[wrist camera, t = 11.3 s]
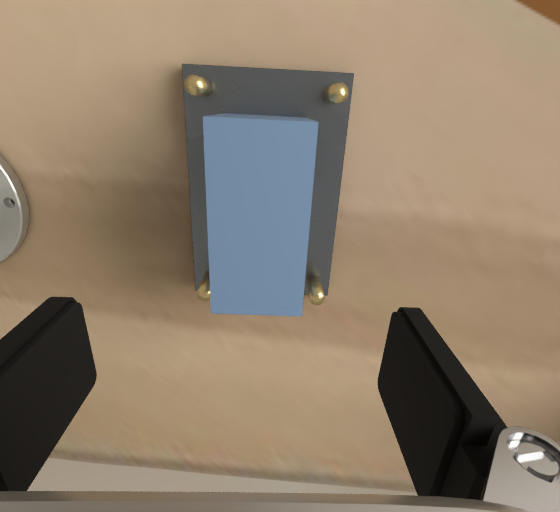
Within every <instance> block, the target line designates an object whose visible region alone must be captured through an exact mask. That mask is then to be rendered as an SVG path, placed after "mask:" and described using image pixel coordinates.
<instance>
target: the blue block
mask: <svg viewBox="0 0 560 512" xmlns="http://www.w3.org/2000/svg"><path fill="white" fill-rule="evenodd" d="M317 134H318V122H317V121H314V120H312V119H309V118H307V117H289V116H269V115H249V114H229V113H223V114H216V115H209V116H203V135H204V159H205V183H206V207H207V230H208V254H209V278H210V302H211V313H216V314H246V315H276V316H302V310H303V298H304V286H305V275H306V263H307V251H308V240H309V228H310V216H311V204H312V193H313V181H314V169H315V158H316V146H317Z"/></svg>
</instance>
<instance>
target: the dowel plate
mask: <svg viewBox="0 0 560 512" xmlns="http://www.w3.org/2000/svg"><path fill="white" fill-rule="evenodd" d="M182 72H183V89H184V106H185V123H186V139H187V156H188V173H189V190H190V207H191V223H192V240H193V257H194V274H195V290H196V291H197V297H198V299H200V300H201V301H208V300H209V299H210V278H209V254H208V230H207V207H206V183H205V159H204V135H203V116H209V115H216V114H223V113H229V114H249V115H269V116H289V117H307V118H309V119H312V120H314V121H317V122H318V134H317V146H316V158H315V169H314V181H313V193H312V204H311V216H310V228H309V240H308V251H307V263H306V275H305V286H304V295H309V297H310V302H311V303H312V304H314V305H320V304H322V303H323V302H324V299H325V298H324V295H325V296H327V295H328V287H329V278H330V270H331V262H332V253H333V245H334V237H335V228H336V220H337V211H338V203H339V195H340V186H341V178H342V170H343V161H344V153H345V144H346V136H347V128H348V119H349V111H350V103H351V94H352V86H353V78H354V73H339V72H321V71H303V70H285V69H266V68H248V67H230V66H212V65H194V64H182Z"/></svg>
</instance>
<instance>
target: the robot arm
mask: <svg viewBox="0 0 560 512" xmlns="http://www.w3.org/2000/svg"><path fill="white" fill-rule="evenodd" d="M28 225H29V209H28V205H27V200H26V196H25V193H24V191H23V188H22V186H21V183H20V181H19V180H18V178H17V176H16V175H15V173H14V171H13V170H12V168H11V167H10V166H9V164H8V163H7V162H6V161H5V160H4V158H3V157H2V156H1V155H0V262H1V261H3V260H5V259H6V258H8V257H9V256H11V255H12V254H14V253H15V252H16V250H17V249H18V248H19V247H20V246H21V244H22V243H23V241H24V239H25V237H26V234H27V230H28ZM95 381H96V369H95V364H94V359H93V355H92V350H91V346H90V341H89V336H88V332H87V327H86V323H85V318H84V313H83V309H82V305H81V304H80V303H78V302H76V300H75V299H74V298H72V297H50V298H48V299H47V300H46V301H45V302H44V303H42V304H41V305H40V306H39V307H38V308H37V309H35V310H34V311H33V312H32V313H31V314H30V315H28V316H27V317H26V318H25V319H24V320H23V321H21V322H20V323H19V324H18V325H17V326H16V327H14V328H13V329H12V330H11V331H10V332H9V333H7V334H6V335H5V336H4V337H3V338H2V339H0V512H560V445H559V444H557V443H556V442H555V441H554V440H552V439H550V438H548V437H547V436H545V435H543V434H541V433H539V432H537V431H534V430H531V429H529V428H523V427H507V426H506V425H505V423H504V422H503V421H502V419H501V418H500V417H499V415H498V414H497V412H496V411H495V410H494V408H493V407H492V406H491V404H490V403H489V401H488V400H487V399H486V397H485V396H484V395H483V393H482V392H481V391H480V389H479V388H478V386H477V385H476V384H475V382H474V381H473V380H472V378H471V377H470V375H469V374H468V373H467V371H466V370H465V369H464V367H463V366H462V365H461V363H460V362H459V360H458V359H457V358H456V356H455V355H454V354H453V352H452V351H451V350H450V348H449V347H448V346H447V344H446V343H445V341H444V340H443V339H442V337H441V336H440V335H439V333H438V332H437V331H436V329H435V328H434V326H433V325H432V324H431V322H430V321H429V320H428V318H427V317H426V315H425V314H424V313H423V311H422V310H421V309H420V308H408V307H400V308H399V309H398V311H397V312H393V313H392V316H391V320H390V325H389V329H388V334H387V339H386V344H385V348H384V353H383V358H382V363H381V367H380V372H379V377H378V389H379V393H380V395H381V398H382V401H383V404H384V406H385V409H386V412H387V414H388V417H389V420H390V422H391V425H392V428H393V430H394V433H395V436H396V438H397V441H398V444H399V446H400V449H401V452H402V454H403V457H404V460H405V462H406V465H407V468H408V471H409V473H410V476H411V479H412V481H413V484H414V487H415V489H416V492H417V494H418V496H407V495H377V494H319V493H318V494H317V493H316V494H315V493H246V492H244V493H243V492H241V493H240V492H131V491H130V492H129V491H124V492H123V491H118V492H117V491H27V489H28V488H29V486H30V485H31V483H32V482H33V480H34V479H35V477H36V475H37V474H38V472H39V471H40V469H41V468H42V466H43V464H44V463H45V461H46V460H47V458H48V457H49V455H50V454H51V452H52V450H53V449H54V447H55V446H56V444H57V443H58V441H59V439H60V438H61V436H62V435H63V433H64V432H65V430H66V428H67V427H68V425H69V424H70V422H71V421H72V419H73V418H74V416H75V414H76V413H77V411H78V410H79V408H80V407H81V405H82V403H83V402H84V400H85V399H86V397H87V396H88V394H89V392H90V391H91V389H92V388H93V386H94V384H95Z"/></svg>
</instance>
